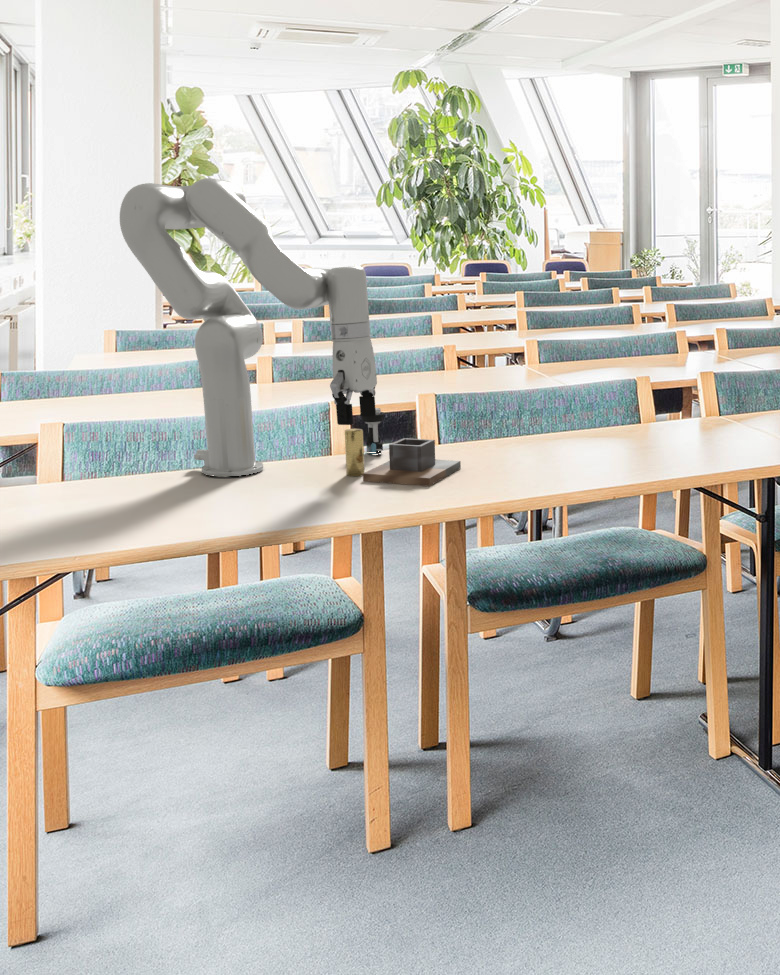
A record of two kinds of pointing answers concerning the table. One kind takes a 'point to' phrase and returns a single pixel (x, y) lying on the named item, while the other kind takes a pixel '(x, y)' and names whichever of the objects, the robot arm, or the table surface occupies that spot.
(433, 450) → the base with square socket
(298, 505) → the table surface
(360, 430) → the hinge pin
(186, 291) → the robot arm
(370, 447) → the push button
